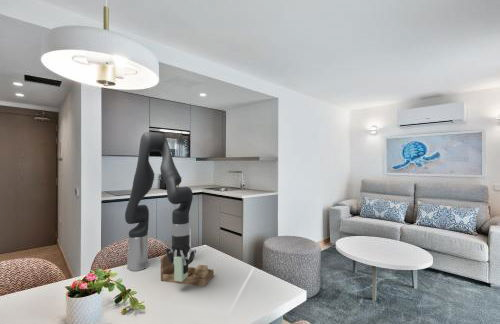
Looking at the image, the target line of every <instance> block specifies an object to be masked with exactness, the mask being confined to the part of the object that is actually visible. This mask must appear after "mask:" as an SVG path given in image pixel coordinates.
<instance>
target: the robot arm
mask: <svg viewBox="0 0 500 324" xmlns="http://www.w3.org/2000/svg"><path fill="white" fill-rule="evenodd" d="M151 152H159V153H160V155H161V157H162V158H161V164H160V174H161V177H162V179H163V181H164V183H165V187H166V195H167V197H166V198H167V199H168V201H169V203H171V204H172V205H179V206H178V207H177V208H175V209H174V210H173V211H172V212H171V213H172V214H171V216H172V217H171V221H172V224H171V225H172V226H171V247H168V248H166V249H165V252H166V254H167V256H168V258H169V261H170V263H171V262H172V263H173V264H174V257H177V256H180V257H183V264H184V265H183V273H184V274H186V273H187V272H188V267H189V265H191V264H192V263H193V261H194V259H195V255H196V253H197V250H196V249H192V248H191V249H190V245H189V244H190V229H191V227H190V210H191V206H192V203H193V199H194V198H193V196H194V193H193V191H192V188H191V187H190V186H189V187H188V186H180V187H179V185H180V184H181V183H182V178H181V174H180V173H179V171H178V169H177V167H176V165H175V162H174V158H173V155H172V151H171V148H170V144H169V142H168V139H167V137H166V135H165V134H164V133H162V132H156V131H155V132H152V131H145V132H143V133H142V135H141V136H140V142H139V149H138V157H137V164H136V169H135V173H134V176H133V181H132V187H131V193H130V196H129V200H128V202H127V206H126V207H125V208H126V209H125V212H124V221H125V222H126V223H127V224H128V225H135V224H137V225H136V226H135V227H133V228H132V229H130V230H129V231H128V250H126V259H127V260H126V261H127V263H126V265H127V268H126V269H128V270H129V271H131V272H138V271H143V270H145V269H147V268H148V267H147V266H149V263H148V262H149V261H148V259H149V257H148V256H149V255H148V254H149V252H148V250H149V249H148V248H149V247H148V243H149V241H148V235H149V234H148V231H149V220H150V217H149V216H150V212H149V211H150V210H149V207H148V206H147V205H146V204H140V202H141V201H142V200H143V198H145V196H147V194H149V192H150V191H151V190H152V188H153V183H154V179H155V172H154V171H153V170H154V169H153V168H152V166H151V163H150V160H149V159H150V153H151ZM173 252H174V255H173ZM188 252H190V253H189V254H190V257H189V260H188ZM185 256H186V257H185ZM146 267H147V268H146ZM144 268H145V269H144ZM142 269H143V270H142Z"/></svg>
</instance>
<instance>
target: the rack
mask: <svg viewBox="0 0 500 324" xmlns="http://www.w3.org/2000/svg"><path fill="white" fill-rule="evenodd" d="M173 255H174V252H173ZM195 269H196V267H192V266H188V276H187V277H186V278H185V279H184V280H183V281H182V282H180V281H174V264H173V263H172V262H171V263H170V261H169V258H168V256H167V253H166V254H164V255H162V256H160V281H161V282H166V283H172V284H173V283H175V284H181V285H182V284H183V285H190V286H198V287H206V286H207V285H208V284H209V282H210V281H211V280H212V278H214V276H215V273H214V272H215V271H214V270H215V269H213V268H208V271H209V274H208V275H207V276H206V278H205V279H202V278H194V275H195Z"/></svg>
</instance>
